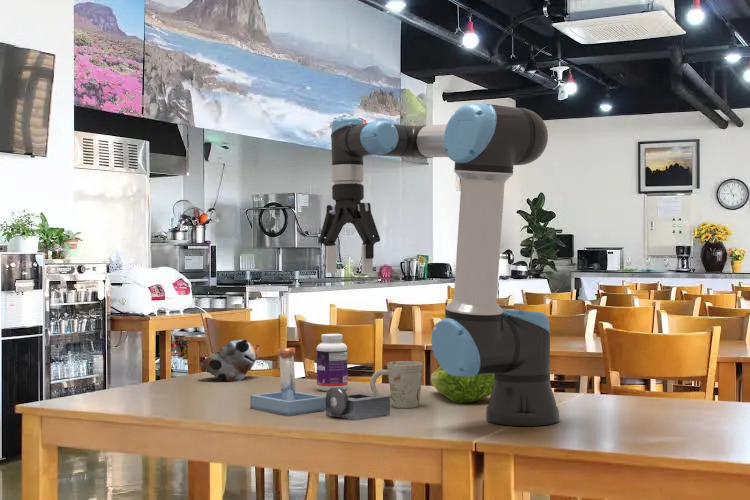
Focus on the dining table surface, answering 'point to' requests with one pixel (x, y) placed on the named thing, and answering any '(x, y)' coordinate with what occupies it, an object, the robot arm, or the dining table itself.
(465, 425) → the dining table surface
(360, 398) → the block
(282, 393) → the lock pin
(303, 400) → the tray
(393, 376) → the mug
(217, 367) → the lucky cat figurine
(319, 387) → the pill bottle
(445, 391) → the lettuce
